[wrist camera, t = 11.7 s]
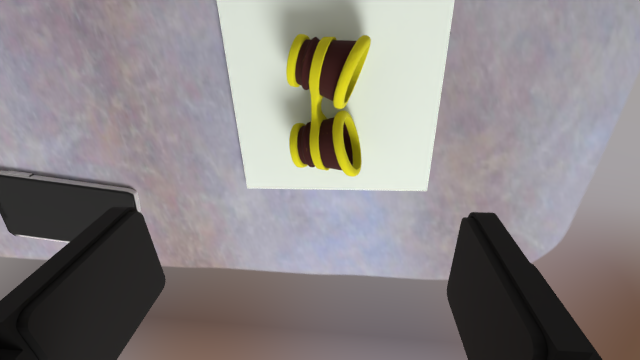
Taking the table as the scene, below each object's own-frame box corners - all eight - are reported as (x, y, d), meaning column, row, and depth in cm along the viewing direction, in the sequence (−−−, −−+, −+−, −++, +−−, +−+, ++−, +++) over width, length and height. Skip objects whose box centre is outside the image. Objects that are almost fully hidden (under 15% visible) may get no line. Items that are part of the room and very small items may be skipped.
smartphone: (146, 254, 34) (10, 236, 35) (152, 247, 36) (20, 229, 36) (132, 191, 31) (-20, 170, 31) (140, 185, 32) (-8, 165, 32)
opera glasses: (303, 30, 23) (276, 35, 19) (376, 32, 22) (364, 38, 18) (305, 152, 28) (283, 178, 24) (365, 160, 27) (353, 189, 22)
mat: (249, 185, 30) (247, 188, 29) (217, -17, 22) (213, -17, 22) (425, 187, 28) (426, 191, 28) (455, -28, 21) (458, -29, 20)
